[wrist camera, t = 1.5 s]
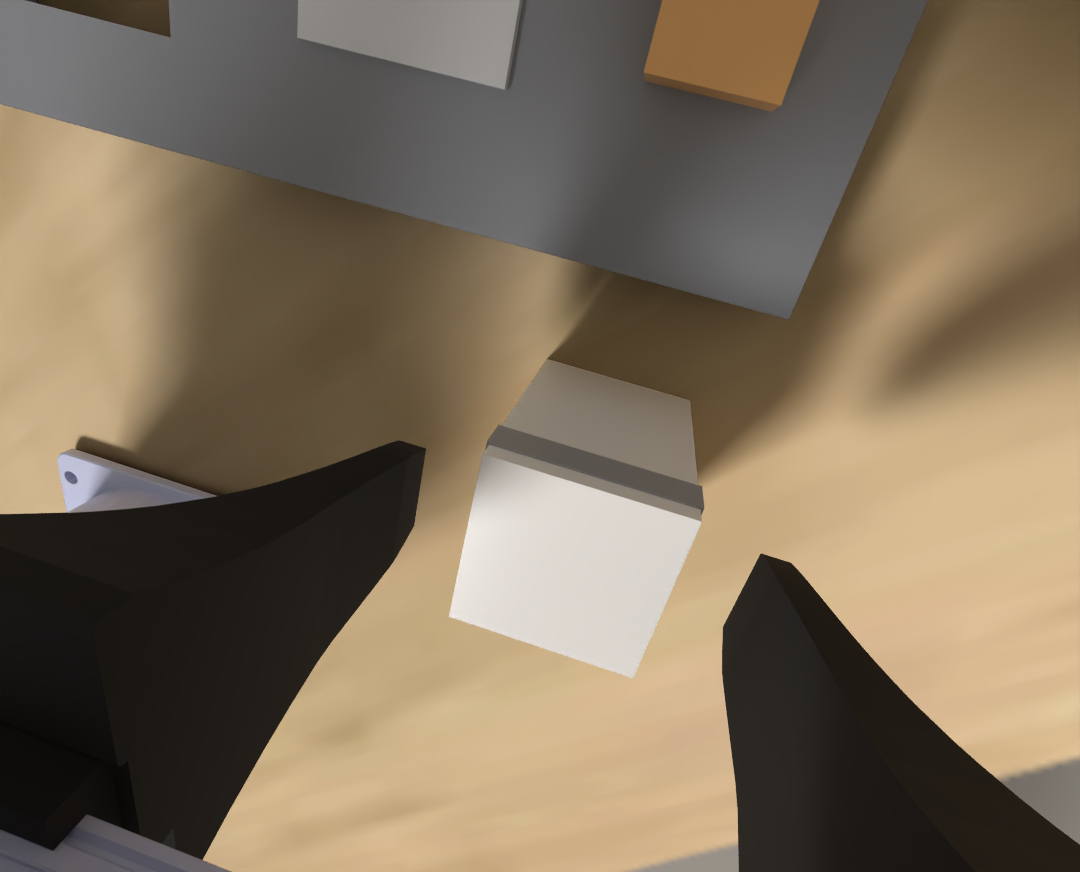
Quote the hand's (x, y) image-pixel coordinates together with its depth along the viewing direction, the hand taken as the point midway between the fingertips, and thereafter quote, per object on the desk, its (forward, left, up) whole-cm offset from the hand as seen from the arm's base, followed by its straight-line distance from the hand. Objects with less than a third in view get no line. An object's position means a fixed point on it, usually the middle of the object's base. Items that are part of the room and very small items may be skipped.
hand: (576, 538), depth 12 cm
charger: (0, 0, -5) cm, 5 cm away
